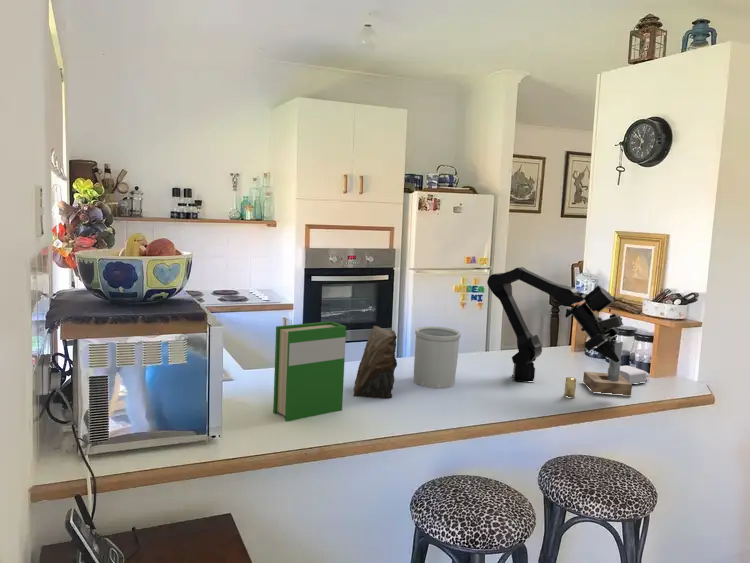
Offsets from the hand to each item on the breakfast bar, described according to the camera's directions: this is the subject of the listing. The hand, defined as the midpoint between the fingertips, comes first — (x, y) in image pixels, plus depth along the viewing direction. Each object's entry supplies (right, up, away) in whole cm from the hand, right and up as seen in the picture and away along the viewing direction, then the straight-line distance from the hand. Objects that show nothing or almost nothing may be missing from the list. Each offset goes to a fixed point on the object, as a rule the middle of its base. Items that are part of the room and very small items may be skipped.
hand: (619, 360), depth 186 cm
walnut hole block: (+1, -12, +13) cm, 18 cm away
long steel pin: (-1, -6, +2) cm, 7 cm away
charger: (+15, -11, +26) cm, 32 cm away
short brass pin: (-15, -12, +3) cm, 19 cm away
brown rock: (-78, -10, -4) cm, 79 cm away
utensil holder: (-57, -9, +11) cm, 59 cm away
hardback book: (-96, -11, -23) cm, 99 cm away
